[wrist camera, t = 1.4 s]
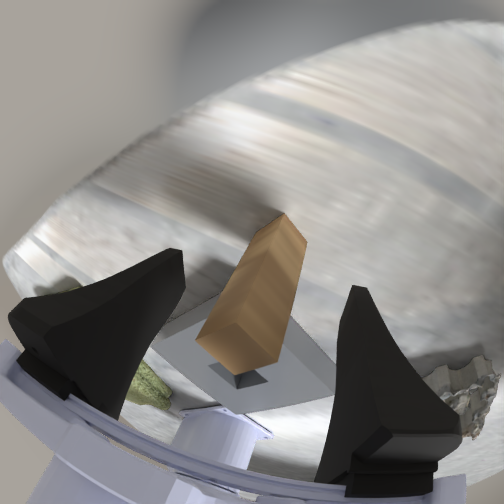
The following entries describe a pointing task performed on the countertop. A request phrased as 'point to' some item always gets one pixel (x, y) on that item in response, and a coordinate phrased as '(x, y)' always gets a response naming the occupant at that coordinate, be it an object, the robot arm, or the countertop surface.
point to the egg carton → (467, 392)
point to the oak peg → (256, 300)
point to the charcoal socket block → (251, 382)
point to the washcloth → (147, 387)
